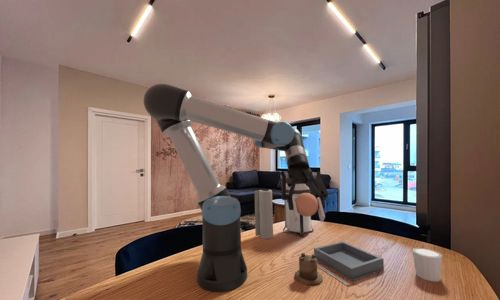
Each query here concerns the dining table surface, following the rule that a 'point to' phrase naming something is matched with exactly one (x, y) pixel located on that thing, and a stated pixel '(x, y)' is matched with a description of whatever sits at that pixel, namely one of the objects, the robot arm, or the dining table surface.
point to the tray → (349, 260)
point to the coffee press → (302, 221)
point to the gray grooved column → (263, 214)
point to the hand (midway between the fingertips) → (309, 219)
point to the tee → (308, 271)
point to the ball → (306, 204)
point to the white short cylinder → (427, 264)
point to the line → (333, 275)
